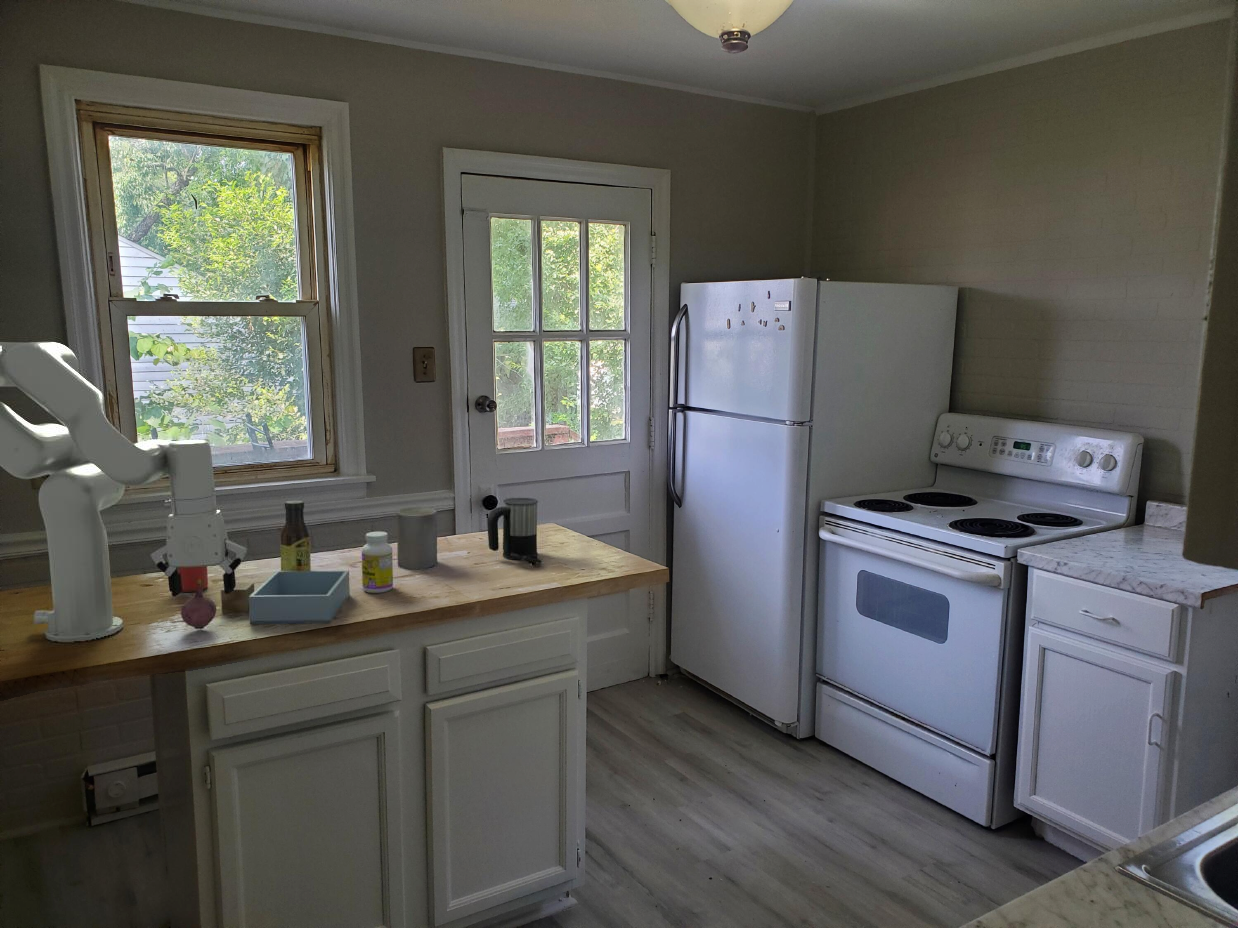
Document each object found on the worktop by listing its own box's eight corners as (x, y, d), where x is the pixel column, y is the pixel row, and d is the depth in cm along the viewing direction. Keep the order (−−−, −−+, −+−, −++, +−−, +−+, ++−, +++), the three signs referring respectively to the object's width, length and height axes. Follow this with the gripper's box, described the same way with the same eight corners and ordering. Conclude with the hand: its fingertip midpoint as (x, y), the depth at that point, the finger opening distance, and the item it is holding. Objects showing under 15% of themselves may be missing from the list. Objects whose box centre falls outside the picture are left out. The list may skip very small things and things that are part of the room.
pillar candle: (398, 560, 222) (396, 502, 219) (437, 558, 224) (436, 501, 221) (397, 570, 212) (395, 510, 210) (438, 568, 215) (437, 509, 212)
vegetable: (216, 633, 167) (213, 583, 165) (180, 637, 165) (177, 586, 163) (218, 623, 172) (215, 574, 171) (183, 627, 170) (180, 577, 169)
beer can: (213, 588, 195) (210, 536, 193) (182, 594, 190) (179, 541, 189) (201, 582, 200) (198, 531, 198) (170, 588, 195) (167, 535, 193)
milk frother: (519, 549, 235) (519, 495, 232) (565, 559, 225) (565, 503, 223) (481, 560, 223) (481, 503, 221) (527, 571, 214) (527, 511, 212)
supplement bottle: (356, 589, 197) (355, 533, 195) (382, 583, 201) (381, 528, 200) (372, 595, 192) (371, 538, 190) (399, 589, 197) (397, 533, 195)
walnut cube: (222, 613, 179) (220, 589, 178) (230, 605, 184) (229, 582, 183) (247, 613, 179) (246, 589, 179) (255, 605, 184) (253, 582, 184)
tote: (250, 623, 173) (248, 596, 172) (277, 595, 191) (276, 571, 190) (330, 622, 174) (329, 595, 173) (349, 595, 192) (348, 570, 191)
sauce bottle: (301, 594, 192) (297, 505, 189) (275, 591, 194) (271, 503, 191) (317, 585, 199) (314, 499, 196) (292, 583, 200) (288, 498, 197)
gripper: (137, 511, 160) (147, 601, 163) (235, 507, 162) (243, 596, 165) (155, 503, 168) (164, 589, 171) (248, 500, 169) (256, 585, 172)
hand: (203, 593), depth 168 cm, fingers open, 9 cm apart
